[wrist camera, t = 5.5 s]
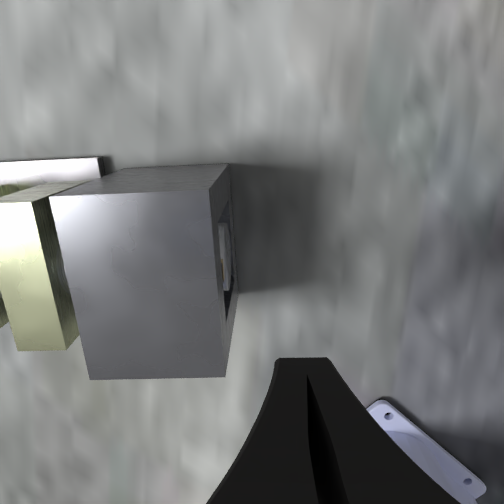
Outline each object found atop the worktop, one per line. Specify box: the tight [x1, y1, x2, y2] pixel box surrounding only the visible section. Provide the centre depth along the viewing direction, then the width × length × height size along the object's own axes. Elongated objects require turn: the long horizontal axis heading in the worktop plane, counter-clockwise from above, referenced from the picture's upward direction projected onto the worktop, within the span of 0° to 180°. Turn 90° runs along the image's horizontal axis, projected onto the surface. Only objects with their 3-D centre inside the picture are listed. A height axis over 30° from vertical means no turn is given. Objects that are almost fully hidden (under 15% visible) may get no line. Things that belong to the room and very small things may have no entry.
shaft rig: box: [0, 156, 231, 351], centre depth 17 cm, size 13×8×6 cm, turn 93°
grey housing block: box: [49, 163, 238, 380], centre depth 16 cm, size 5×7×7 cm
